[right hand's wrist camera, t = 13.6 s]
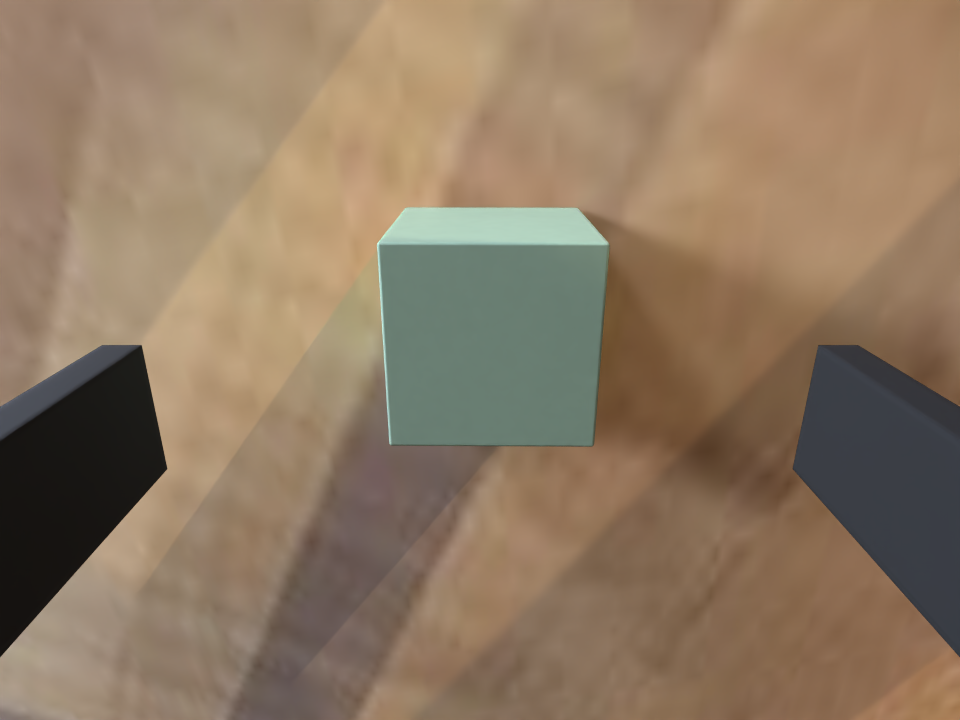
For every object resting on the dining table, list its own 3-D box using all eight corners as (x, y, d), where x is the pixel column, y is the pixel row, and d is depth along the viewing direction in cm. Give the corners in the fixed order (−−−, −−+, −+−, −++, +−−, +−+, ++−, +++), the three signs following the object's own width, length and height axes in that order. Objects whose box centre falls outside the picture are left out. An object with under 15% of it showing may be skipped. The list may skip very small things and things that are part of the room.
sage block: (412, 367, 20) (389, 446, 15) (405, 207, 18) (376, 242, 13) (569, 368, 20) (594, 447, 15) (578, 207, 18) (610, 242, 13)
